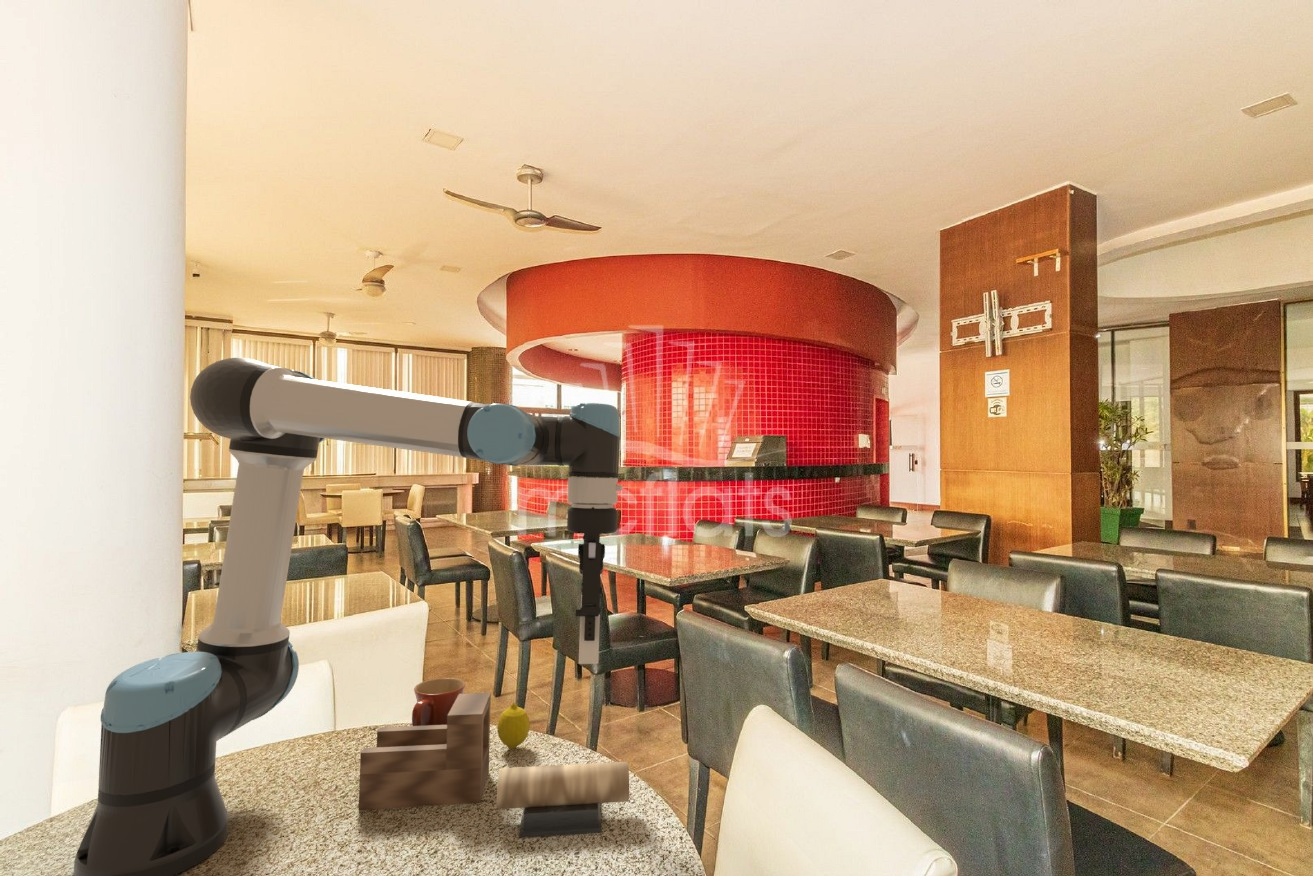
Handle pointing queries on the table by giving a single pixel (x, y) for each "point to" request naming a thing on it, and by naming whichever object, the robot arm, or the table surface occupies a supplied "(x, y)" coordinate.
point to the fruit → (513, 726)
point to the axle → (562, 785)
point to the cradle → (560, 820)
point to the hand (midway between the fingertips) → (588, 649)
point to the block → (430, 760)
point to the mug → (435, 700)
